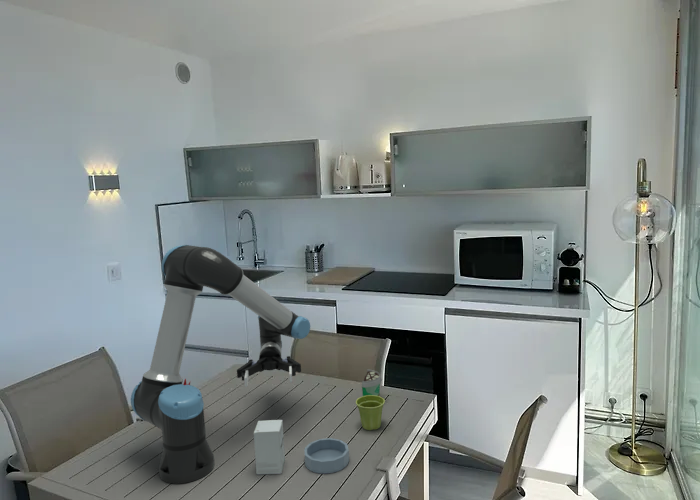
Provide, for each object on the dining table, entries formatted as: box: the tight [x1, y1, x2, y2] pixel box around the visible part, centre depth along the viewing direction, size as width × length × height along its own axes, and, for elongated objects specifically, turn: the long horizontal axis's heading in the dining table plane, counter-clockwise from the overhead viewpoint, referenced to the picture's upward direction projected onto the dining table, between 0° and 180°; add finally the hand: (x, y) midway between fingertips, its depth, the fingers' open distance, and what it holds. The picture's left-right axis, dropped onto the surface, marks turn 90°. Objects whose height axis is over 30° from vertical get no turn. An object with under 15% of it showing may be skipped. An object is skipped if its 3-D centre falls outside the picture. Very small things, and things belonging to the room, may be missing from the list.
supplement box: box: [253, 419, 286, 475], centre depth 146 cm, size 7×7×13 cm
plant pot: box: [355, 395, 386, 431], centre depth 167 cm, size 9×9×9 cm
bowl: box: [303, 437, 350, 475], centre depth 148 cm, size 13×13×4 cm
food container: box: [361, 368, 383, 396], centre depth 185 cm, size 12×6×10 cm, turn 168°
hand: (268, 380), depth 156 cm, fingers open, 13 cm apart
